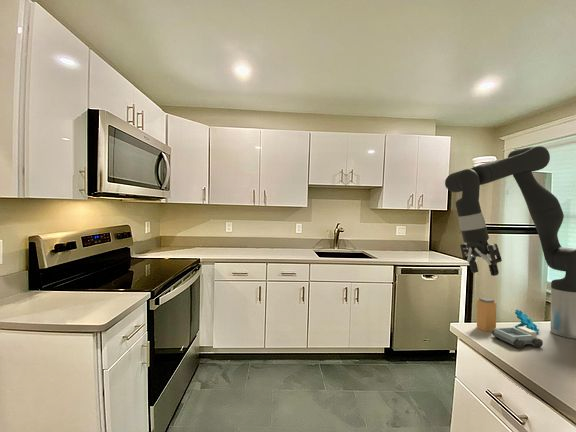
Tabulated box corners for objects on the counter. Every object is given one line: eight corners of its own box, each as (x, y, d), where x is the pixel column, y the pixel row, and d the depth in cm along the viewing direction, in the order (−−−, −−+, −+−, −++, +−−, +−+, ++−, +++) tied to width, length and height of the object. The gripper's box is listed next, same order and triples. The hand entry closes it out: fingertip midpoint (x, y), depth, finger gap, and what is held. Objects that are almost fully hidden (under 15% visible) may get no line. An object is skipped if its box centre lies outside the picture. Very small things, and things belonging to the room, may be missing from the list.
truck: (517, 335, 111) (517, 324, 111) (543, 347, 101) (543, 334, 101) (491, 337, 109) (491, 325, 109) (515, 349, 99) (515, 336, 99)
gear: (535, 333, 109) (514, 309, 116) (521, 340, 112) (501, 316, 119) (545, 331, 115) (524, 308, 122) (531, 338, 119) (511, 315, 125)
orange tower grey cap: (476, 327, 119) (477, 297, 119) (486, 326, 119) (486, 297, 119) (485, 331, 114) (486, 301, 114) (495, 331, 115) (496, 300, 115)
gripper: (500, 224, 94) (512, 273, 93) (467, 225, 108) (478, 269, 108) (479, 229, 93) (492, 279, 92) (449, 230, 107) (460, 273, 106)
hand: (484, 273), depth 100 cm, fingers open, 8 cm apart
